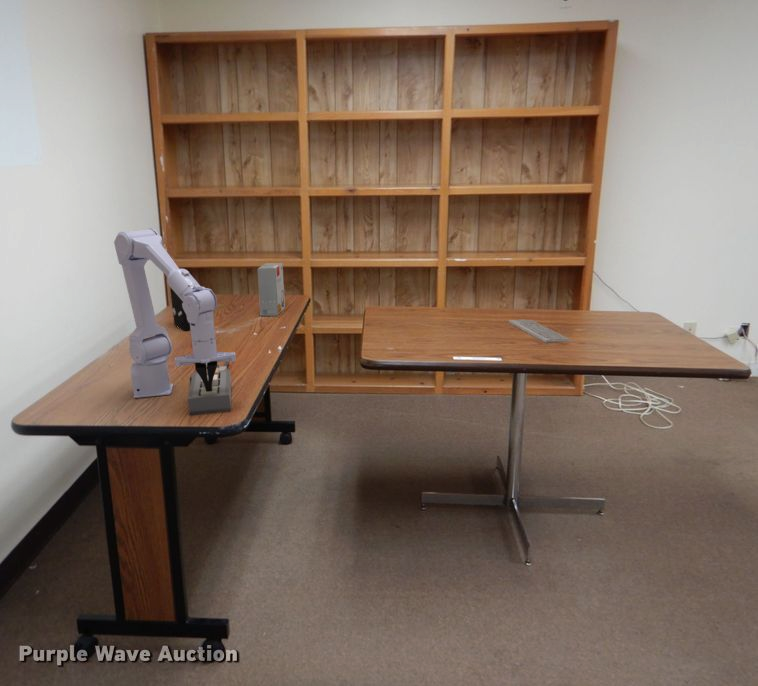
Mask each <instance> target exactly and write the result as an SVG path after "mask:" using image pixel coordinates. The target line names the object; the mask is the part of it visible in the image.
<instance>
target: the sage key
mask: <svg viewBox="0 0 758 686" xmlns="http://www.w3.org/2000/svg"><path fill="white" fill-rule="evenodd" d="M211 394H218V387H212V391H208V392H206V389H205V388H201V395H211Z"/></svg>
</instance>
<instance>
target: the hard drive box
mask: <svg viewBox="0 0 758 686" xmlns="http://www.w3.org/2000/svg"><path fill="white" fill-rule="evenodd" d="M283 266H284V264H283V262H266V263H264V264H262V265H261V266H260V267H258V268H257V282H258V298H259V299H258V302H259V315H260V317H263V316H264V317H266V316H267V317H276V316H277V317H278V316H279V315H280V314H281V313H282V312H283V311H284V310H285V309H286V298H285V285H284V282H285V281H284V269H283V268H284V267H283Z"/></svg>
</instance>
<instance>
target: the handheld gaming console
mask: <svg viewBox="0 0 758 686" xmlns="http://www.w3.org/2000/svg"><path fill="white" fill-rule="evenodd" d="M169 288H170V289H169V290H170V297H171V298H170V299H171V307H172V308H171V309H172V310H171V311H172V315H173V316H172V317H173V323H174V324H173V325H174V326H176V327H177V326H178V327H179V328H178V327H177V328H178V329H180V328H181V329H180V330H182V329H183V330H182V331H191V330H190V323H189V322H188V320H187V316H186V313H185V312H184V310H183V307H182V303H183V301H182V300H181V299H180V298H179V296H178V295H177V294H176V293H175V292H174V291H173V290H172V288H171V287H170V286H169Z"/></svg>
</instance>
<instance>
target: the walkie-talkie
mask: <svg viewBox="0 0 758 686" xmlns="http://www.w3.org/2000/svg"><path fill="white" fill-rule="evenodd" d="M230 362H231V361H226V362H224V364H223V366H222V365H221V366H220V365H219V364H217V368H218V371H223V370H228V366H229V364H230ZM206 367H207V363H206ZM193 373H197V371H196V369H195V368H194V370H193V372H192V373H191V374H190V377H189V385H190V384H191V380H192V375H193Z"/></svg>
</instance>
